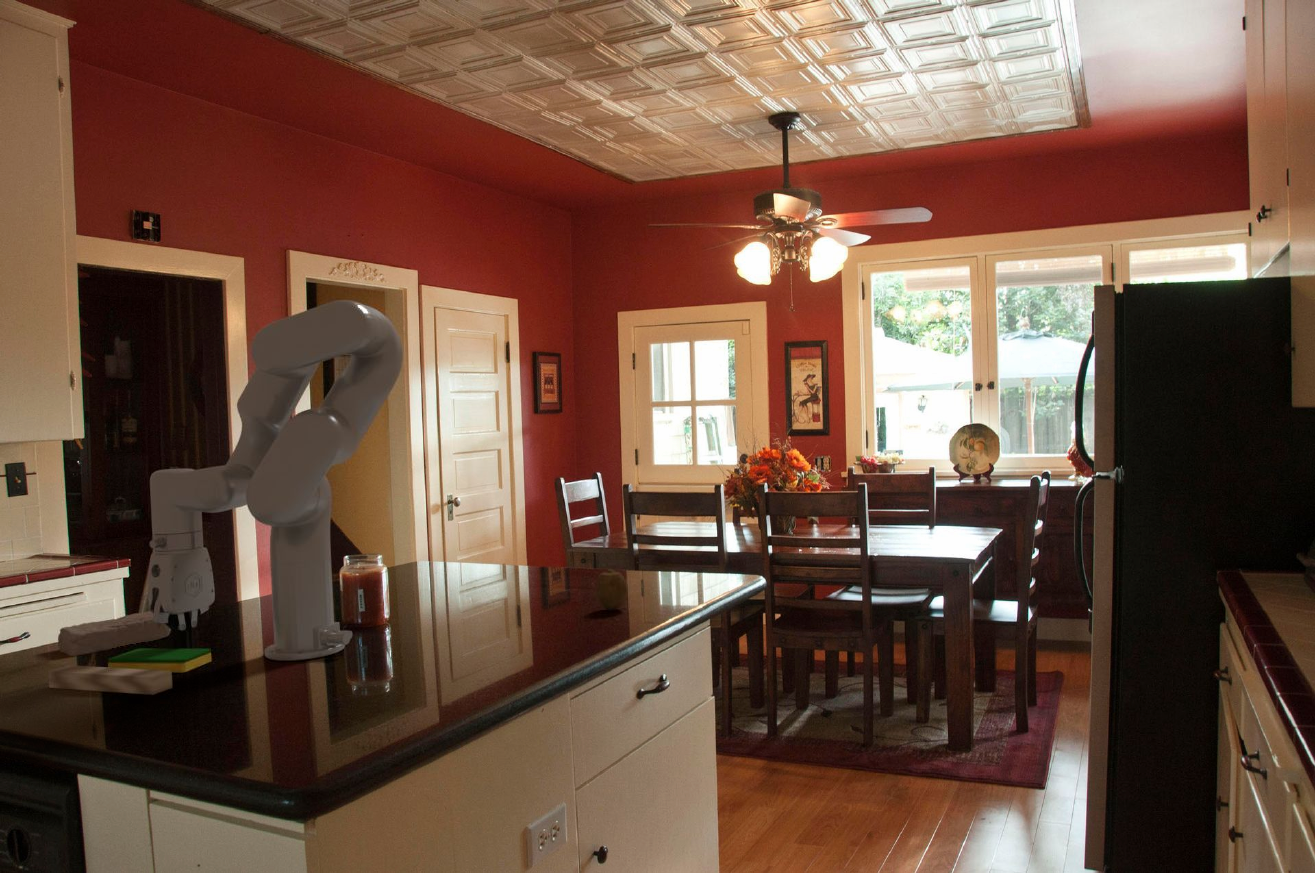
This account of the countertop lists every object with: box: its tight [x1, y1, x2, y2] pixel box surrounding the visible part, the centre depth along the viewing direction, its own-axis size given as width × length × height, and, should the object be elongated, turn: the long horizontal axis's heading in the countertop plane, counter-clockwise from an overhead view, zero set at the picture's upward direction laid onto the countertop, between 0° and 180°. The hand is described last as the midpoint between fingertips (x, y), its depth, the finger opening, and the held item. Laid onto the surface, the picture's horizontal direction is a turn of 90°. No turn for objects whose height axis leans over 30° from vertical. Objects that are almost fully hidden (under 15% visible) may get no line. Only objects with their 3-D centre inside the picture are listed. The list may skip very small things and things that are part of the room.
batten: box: [48, 664, 173, 696], centre depth 145 cm, size 20×4×2 cm, turn 72°
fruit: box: [594, 568, 628, 612], centre depth 187 cm, size 6×6×8 cm
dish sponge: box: [107, 648, 212, 673], centre depth 157 cm, size 7×14×2 cm, turn 79°
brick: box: [57, 610, 171, 657], centre depth 176 cm, size 17×8×5 cm, turn 139°
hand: (183, 651), depth 162 cm, fingers closed
